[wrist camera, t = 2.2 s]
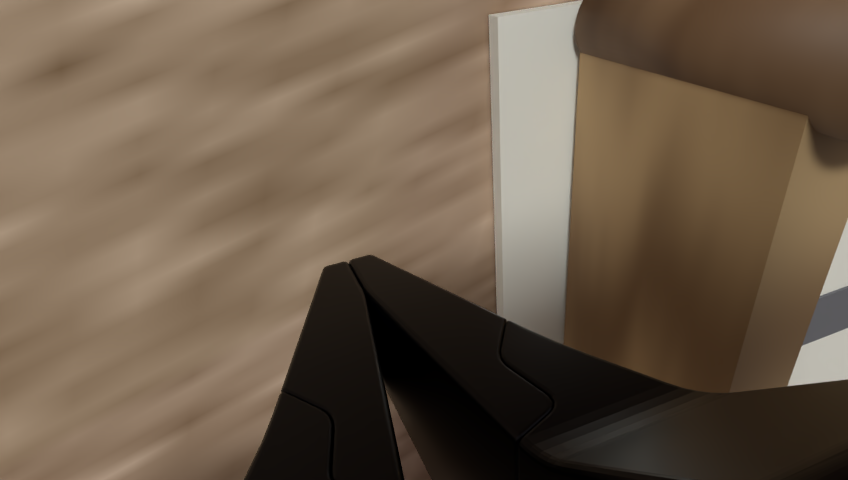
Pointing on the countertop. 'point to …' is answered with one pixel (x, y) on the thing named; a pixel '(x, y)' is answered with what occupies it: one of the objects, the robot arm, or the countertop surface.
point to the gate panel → (706, 184)
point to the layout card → (553, 178)
